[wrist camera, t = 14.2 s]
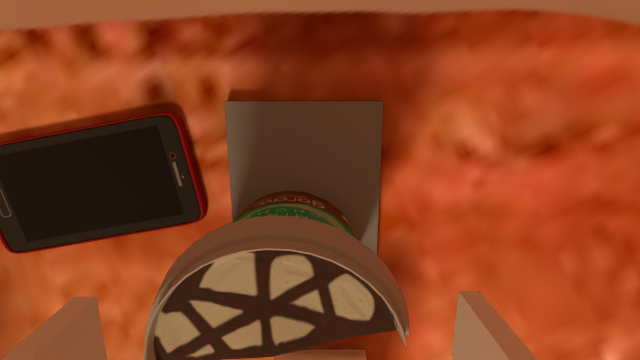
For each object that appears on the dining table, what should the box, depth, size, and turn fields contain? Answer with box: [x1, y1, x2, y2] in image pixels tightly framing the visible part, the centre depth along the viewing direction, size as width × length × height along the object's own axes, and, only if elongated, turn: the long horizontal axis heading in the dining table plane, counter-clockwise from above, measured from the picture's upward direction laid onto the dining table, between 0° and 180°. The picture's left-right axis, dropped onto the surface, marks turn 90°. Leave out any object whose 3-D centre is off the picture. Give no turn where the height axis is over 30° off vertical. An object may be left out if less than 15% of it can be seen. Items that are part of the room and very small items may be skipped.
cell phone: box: [0, 112, 207, 253], centre depth 24 cm, size 8×15×1 cm, turn 100°
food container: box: [144, 191, 410, 360], centre depth 19 cm, size 12×6×10 cm, turn 101°
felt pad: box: [225, 101, 384, 255], centre depth 24 cm, size 10×15×1 cm, turn 0°
